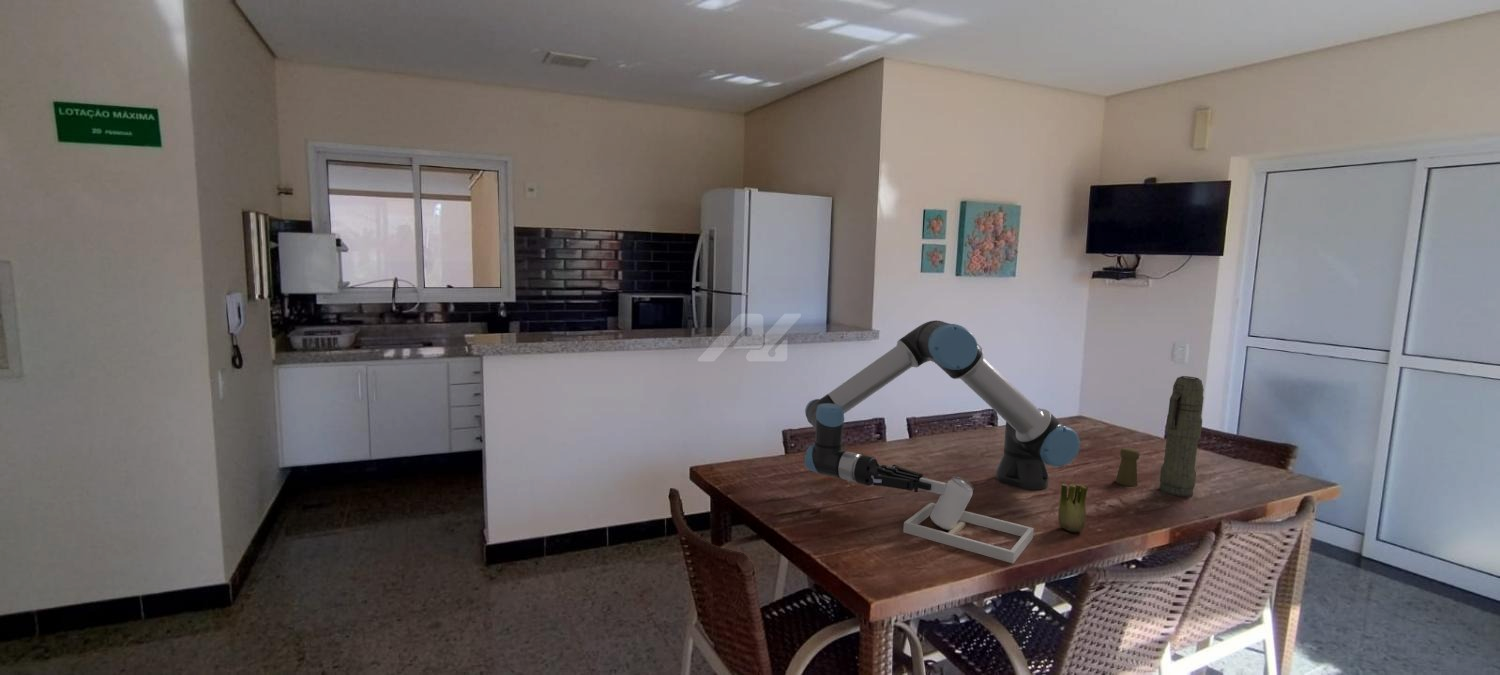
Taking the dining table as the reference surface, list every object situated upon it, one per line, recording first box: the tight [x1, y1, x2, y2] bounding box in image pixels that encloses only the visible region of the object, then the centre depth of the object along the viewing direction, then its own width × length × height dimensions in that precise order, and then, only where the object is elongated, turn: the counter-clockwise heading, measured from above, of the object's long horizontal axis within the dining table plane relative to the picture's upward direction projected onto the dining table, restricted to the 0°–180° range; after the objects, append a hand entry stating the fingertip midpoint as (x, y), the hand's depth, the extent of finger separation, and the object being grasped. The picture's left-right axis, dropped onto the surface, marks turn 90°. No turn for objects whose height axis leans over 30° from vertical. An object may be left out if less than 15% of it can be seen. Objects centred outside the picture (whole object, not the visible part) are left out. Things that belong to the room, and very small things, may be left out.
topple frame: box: [902, 501, 1035, 564], centre depth 165 cm, size 26×18×2 cm
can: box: [929, 475, 975, 532], centre depth 167 cm, size 6×6×12 cm
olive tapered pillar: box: [1115, 447, 1140, 487], centre depth 209 cm, size 6×6×11 cm
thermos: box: [1158, 375, 1205, 498], centre depth 201 cm, size 9×12×35 cm
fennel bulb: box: [1058, 483, 1088, 534], centre depth 170 cm, size 6×5×12 cm
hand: (945, 489), depth 167 cm, fingers closed
